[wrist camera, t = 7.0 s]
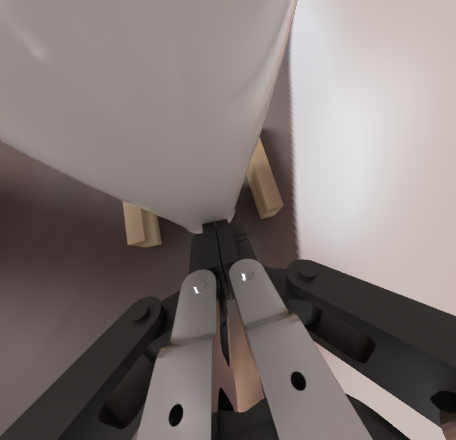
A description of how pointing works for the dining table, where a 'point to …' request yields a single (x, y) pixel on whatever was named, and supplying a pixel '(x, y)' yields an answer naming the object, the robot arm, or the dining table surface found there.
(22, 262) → the dining table surface
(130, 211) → the oak dock
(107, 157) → the drinking glass
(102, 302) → the dining table surface
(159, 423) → the robot arm
